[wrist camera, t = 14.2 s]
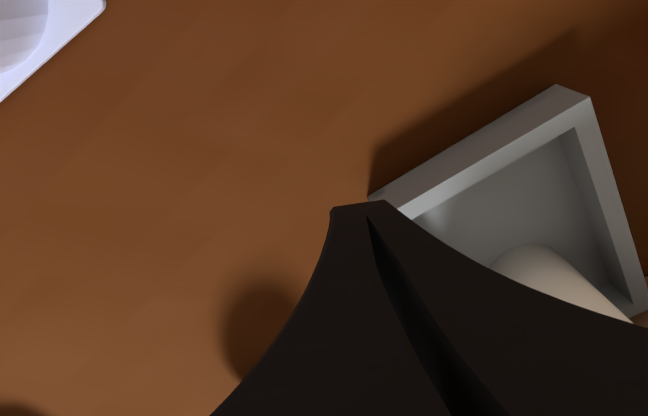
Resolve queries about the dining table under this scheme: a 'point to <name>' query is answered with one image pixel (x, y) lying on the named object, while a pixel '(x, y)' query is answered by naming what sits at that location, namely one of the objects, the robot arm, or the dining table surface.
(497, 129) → the tray
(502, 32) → the dining table surface
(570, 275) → the beige rounded lump
